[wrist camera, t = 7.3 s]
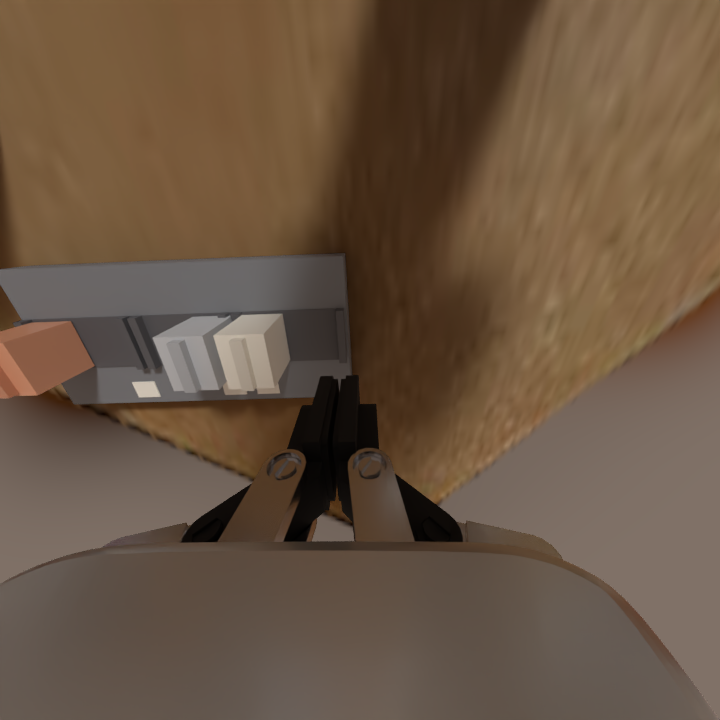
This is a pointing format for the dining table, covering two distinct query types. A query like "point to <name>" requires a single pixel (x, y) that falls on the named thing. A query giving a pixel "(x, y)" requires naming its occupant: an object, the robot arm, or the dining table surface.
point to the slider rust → (40, 357)
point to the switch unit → (177, 304)
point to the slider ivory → (253, 351)
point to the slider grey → (193, 354)
